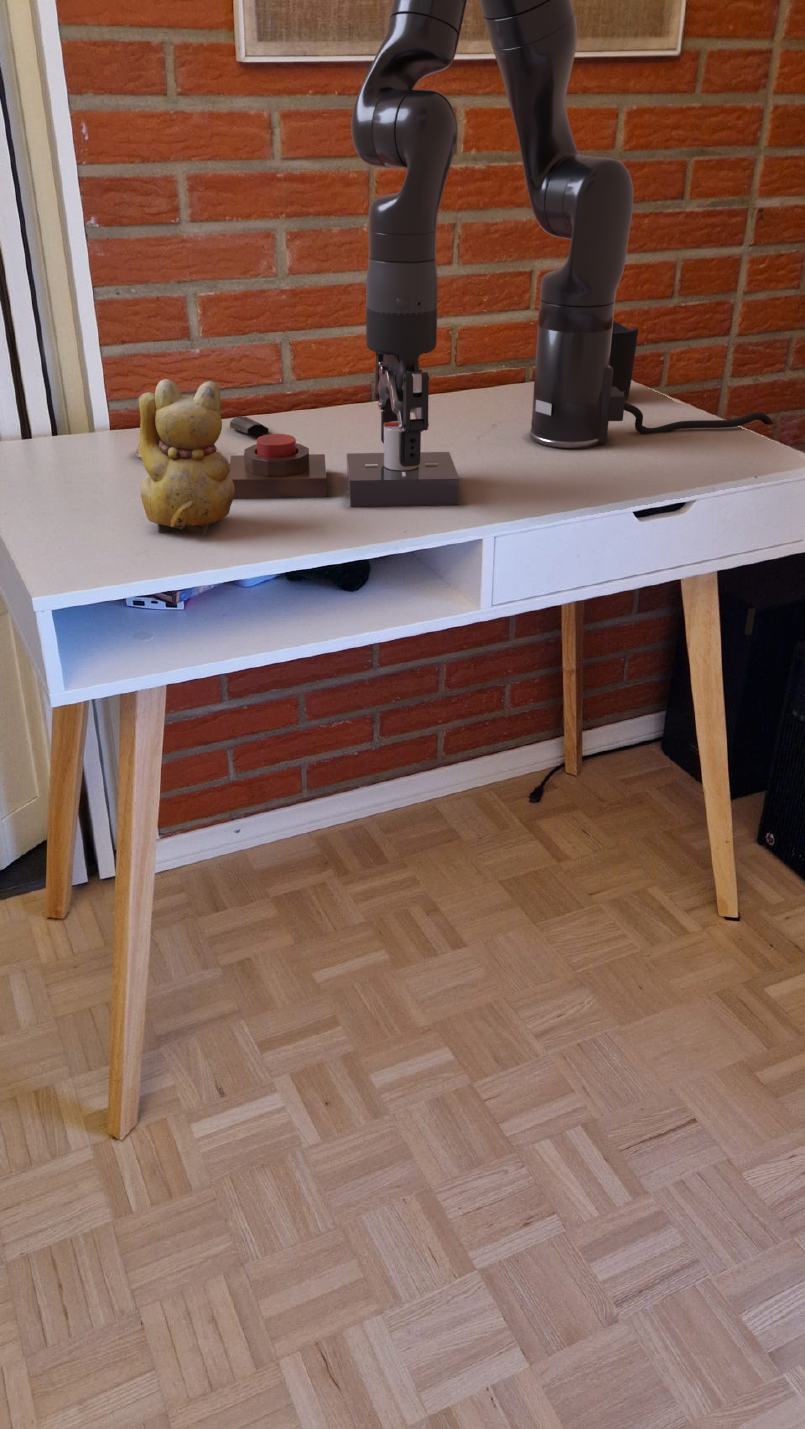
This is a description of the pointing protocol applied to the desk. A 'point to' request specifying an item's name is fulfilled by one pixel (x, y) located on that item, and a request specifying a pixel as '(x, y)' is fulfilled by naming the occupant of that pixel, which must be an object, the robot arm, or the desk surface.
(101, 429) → the desk surface
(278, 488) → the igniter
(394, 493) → the panel
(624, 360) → the dark upright prism
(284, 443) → the button
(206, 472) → the decorative figurine
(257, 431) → the block
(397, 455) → the knob
